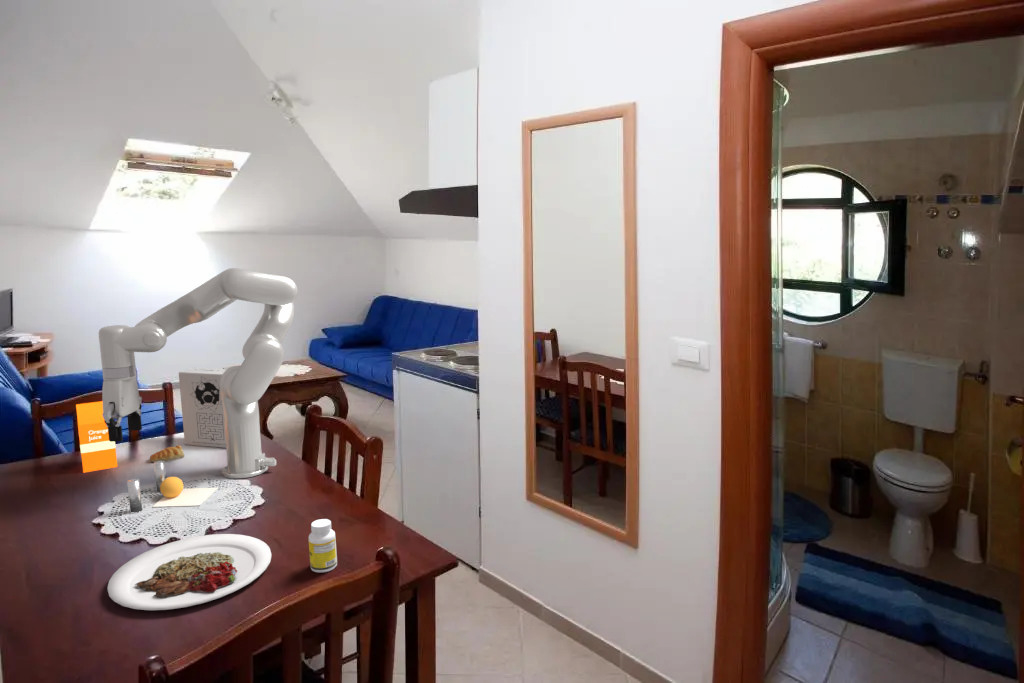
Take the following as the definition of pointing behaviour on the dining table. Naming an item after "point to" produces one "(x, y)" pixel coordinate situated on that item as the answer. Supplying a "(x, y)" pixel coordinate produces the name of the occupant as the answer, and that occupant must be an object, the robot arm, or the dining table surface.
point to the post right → (159, 473)
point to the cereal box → (202, 407)
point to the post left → (134, 495)
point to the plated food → (189, 572)
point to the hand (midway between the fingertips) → (126, 435)
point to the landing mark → (187, 498)
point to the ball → (171, 487)
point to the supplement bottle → (322, 546)
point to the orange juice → (94, 438)
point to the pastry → (168, 454)
